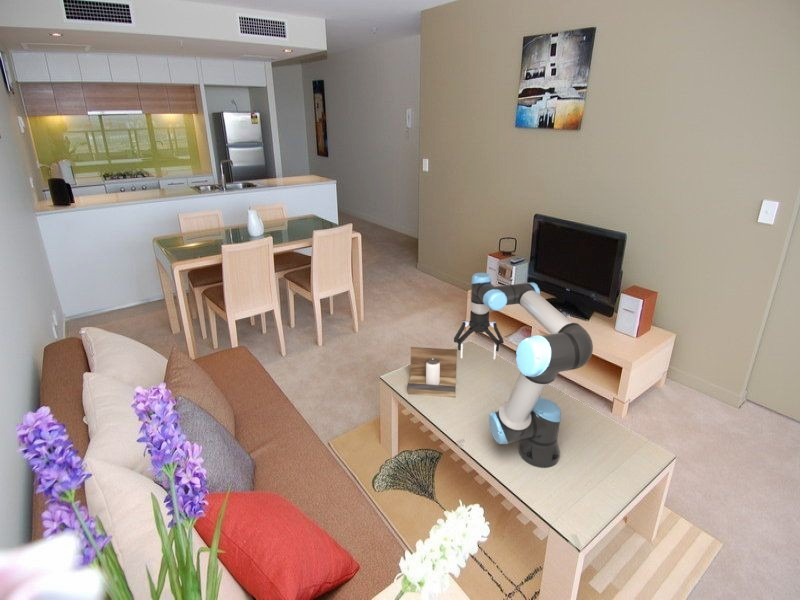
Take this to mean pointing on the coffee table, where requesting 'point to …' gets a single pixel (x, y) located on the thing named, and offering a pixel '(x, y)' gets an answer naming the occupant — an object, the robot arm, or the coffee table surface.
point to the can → (432, 371)
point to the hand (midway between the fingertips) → (477, 357)
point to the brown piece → (446, 372)
